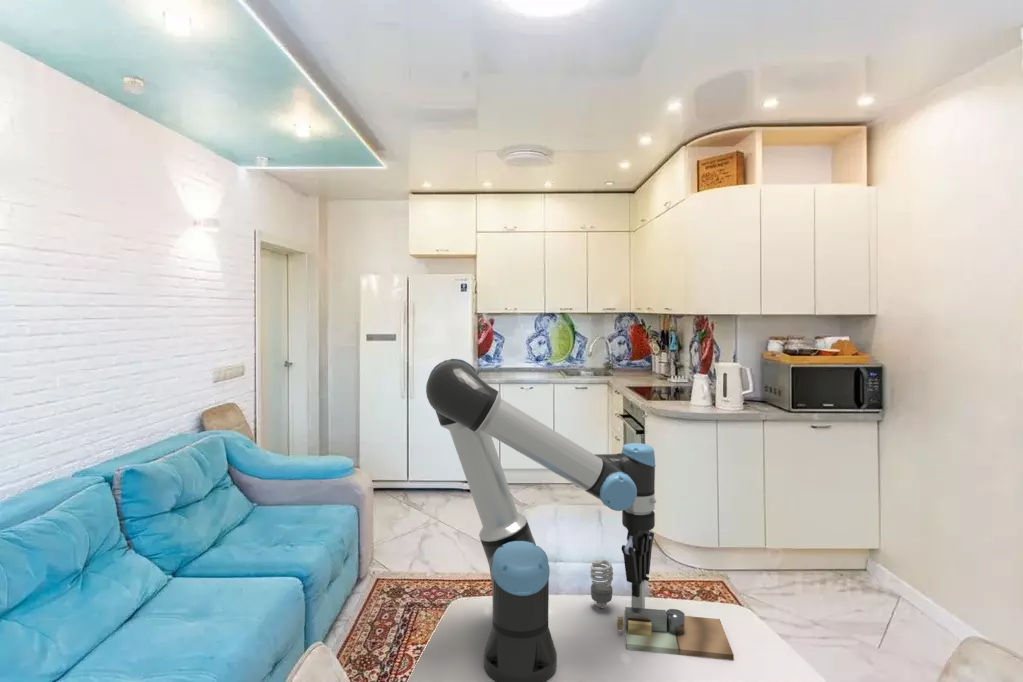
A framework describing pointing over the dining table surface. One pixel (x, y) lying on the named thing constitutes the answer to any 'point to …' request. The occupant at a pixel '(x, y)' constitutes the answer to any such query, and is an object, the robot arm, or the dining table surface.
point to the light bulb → (601, 590)
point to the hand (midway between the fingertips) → (638, 607)
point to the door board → (680, 638)
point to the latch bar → (658, 619)
